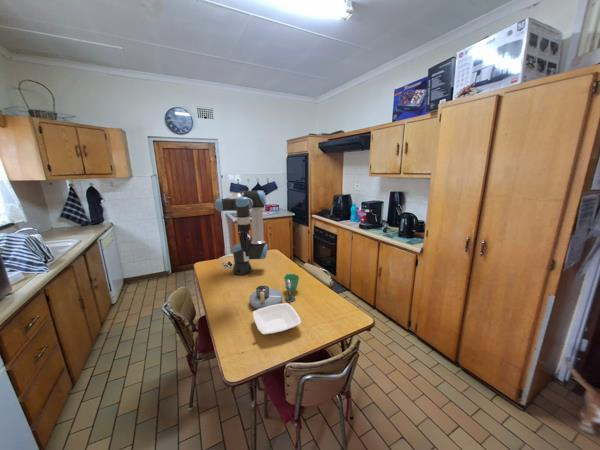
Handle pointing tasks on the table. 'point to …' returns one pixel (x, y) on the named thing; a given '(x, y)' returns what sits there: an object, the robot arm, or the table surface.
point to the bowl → (276, 318)
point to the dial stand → (290, 297)
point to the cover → (262, 289)
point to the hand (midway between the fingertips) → (246, 260)
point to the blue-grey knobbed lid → (262, 302)
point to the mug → (292, 281)
